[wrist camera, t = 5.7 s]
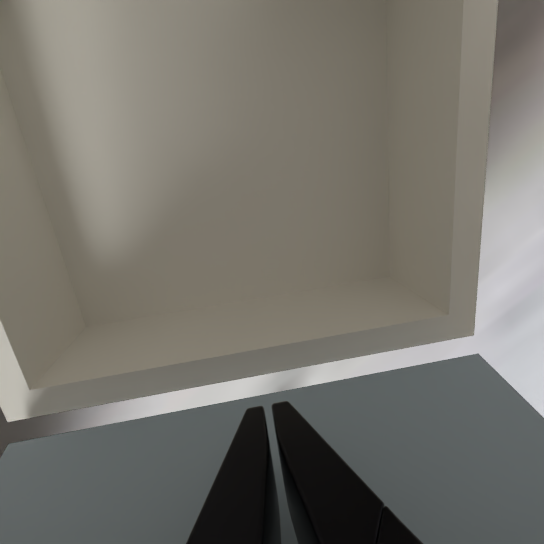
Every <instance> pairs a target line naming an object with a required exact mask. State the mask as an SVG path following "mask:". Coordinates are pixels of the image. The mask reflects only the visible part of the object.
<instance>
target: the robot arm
mask: <svg viewBox="0 0 544 544" xmlns="http://www.w3.org/2000/svg"><path fill="white" fill-rule="evenodd" d="M271 407H272V414H273V421H274V427H275V434H276V440H277V446H278V452H279V458H280V464H281V469H282V475H283V481H284V487H285V493H286V499H287V504H288V508H289V512H290V516H291V520H292V524H293V527H294V531H295V534H296V538H297V541H298V544H423V543H422V542H421V541H420V540H419V539H418V538H417V537H416V535H415V534H414V533H413V532H412V531H411V530H410V529H409V528H408V527H407V526H406V525H405V524H404V523H403V522H402V521H401V520H400V519H399V518H398V517H397V516H396V515H395V514H394V513H393V512H392V511H391V510H390V508H389V507H388V506H384V502H383V501H382V500H381V499H380V498H379V497H378V496H377V495H376V494H375V493H374V492H373V491H372V490H371V489H370V487H369V486H368V485H367V484H366V483H365V482H364V481H363V480H362V479H361V478H360V477H359V476H358V475H357V474H356V473H355V472H354V470H353V469H352V468H351V467H350V466H349V465H348V464H347V463H346V462H345V461H344V460H343V459H342V458H341V457H340V456H339V455H338V453H337V452H336V451H335V450H334V449H333V448H332V447H331V446H330V445H329V444H328V443H327V442H326V441H325V440H324V439H323V437H322V436H321V435H320V434H319V433H318V432H317V431H316V430H315V429H314V428H313V427H312V426H311V425H310V424H309V423H308V422H307V420H306V419H305V418H304V417H303V416H302V415H301V414H300V413H299V412H298V411H297V410H296V409H295V408H294V407H293V406H292V405H291V403H289V402H288V401H282V402H277V403H273V404H272V406H271ZM186 544H281V527H280V510H279V502H278V494H277V488H276V481H275V474H274V468H273V461H272V454H271V448H270V441H269V435H268V429H267V422H266V416H265V410H264V407H263V406H256V407H250V408H247V409H246V411H245V413H244V415H243V418H242V420H241V422H240V424H239V426H238V429H237V431H236V433H235V435H234V438H233V440H232V442H231V444H230V446H229V449H228V451H227V453H226V455H225V458H224V460H223V462H222V464H221V466H220V469H219V471H218V473H217V475H216V478H215V480H214V482H213V484H212V486H211V489H210V491H209V493H208V495H207V498H206V500H205V502H204V504H203V507H202V509H201V511H200V513H199V515H198V518H197V520H196V522H195V524H194V527H193V529H192V531H191V533H190V535H189V538H188V540H187V542H186Z"/></svg>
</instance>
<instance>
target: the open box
mask: <svg viewBox="0 0 544 544" xmlns="http://www.w3.org/2000/svg"><path fill="white" fill-rule="evenodd" d="M497 11H498V0H0V407H1V409H2V411H3V413H4V416H5V418H6V420H7V422H11V421H17V420H22V419H27V418H33V417H38V416H44V415H49V414H54V413H60V412H65V411H70V410H76V409H81V408H86V407H92V406H97V405H103V404H108V403H113V402H119V401H124V400H129V399H135V398H140V397H145V396H151V395H156V394H162V393H167V392H172V391H178V390H183V389H188V388H194V387H199V386H204V385H210V384H215V383H221V382H226V381H231V380H237V379H242V378H247V377H253V376H258V375H263V374H269V373H274V372H280V371H285V370H290V369H296V368H301V367H306V366H312V365H317V364H322V363H328V362H333V361H339V360H344V359H349V358H355V357H360V356H365V355H371V354H376V353H381V352H387V351H392V350H398V349H403V348H408V347H414V346H419V345H424V344H430V343H435V342H440V341H446V340H451V339H457V338H462V337H467V336H473V335H474V327H475V313H476V300H477V286H478V272H479V259H480V245H481V231H482V217H483V204H484V190H485V176H486V162H487V149H488V135H489V121H490V108H491V94H492V80H493V66H494V53H495V39H496V25H497Z"/></svg>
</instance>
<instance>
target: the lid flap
mask: <svg viewBox="0 0 544 544" xmlns="http://www.w3.org/2000/svg"><path fill="white" fill-rule="evenodd" d="M282 401H288V402H289V403H291V405H292V406H293V407H294V408H295V409H296V410H297V411H298V412H299V413H300V414H301V415H302V416H303V417H304V418H305V419H306V420H307V422H308V423H309V424H310V425H311V426H312V427H313V428H314V429H315V430H316V431H317V432H318V433H319V434H320V435H321V436H322V437H323V439H324V440H325V441H326V442H327V443H328V444H329V445H330V446H331V447H332V448H333V449H334V450H335V451H336V452H337V453H338V455H339V456H340V457H341V458H342V459H343V460H344V461H345V462H346V463H347V464H348V465H349V466H350V467H351V468H352V469H353V470H354V472H355V473H356V474H357V475H358V476H359V477H360V478H361V479H362V480H363V481H364V482H365V483H366V484H367V485H368V486H369V487H370V489H371V490H372V491H373V492H374V493H375V494H376V495H377V496H378V497H379V498H380V499H381V500H382V501H383V502H384V506H388V507H389V508H390V510H391V511H392V512H393V513H394V514H395V515H396V516H397V517H398V518H399V519H400V520H401V521H402V522H403V523H404V524H405V525H406V526H407V527H408V528H409V529H410V530H411V531H412V532H413V533H414V534H415V535H416V537H417V538H418V539H419V540H420V541H421V542H422V543H423V544H544V418H543V417H542V416H541V415H540V414H539V413H538V412H537V411H536V410H535V409H534V408H533V407H532V406H531V405H530V404H529V403H528V402H527V401H526V400H525V399H524V398H523V397H522V396H521V395H520V394H519V393H518V392H517V391H516V390H515V389H514V388H513V387H512V386H511V385H510V384H509V383H508V382H507V381H506V380H505V379H504V378H503V377H502V376H501V375H500V374H499V373H498V372H496V371H495V370H494V369H493V368H492V367H491V366H490V365H489V364H488V363H487V362H486V361H485V360H484V359H483V358H482V357H481V356H480V355H479V354H474V355H468V356H463V357H458V358H453V359H448V360H442V361H437V362H432V363H427V364H422V365H416V366H411V367H406V368H401V369H396V370H390V371H385V372H380V373H375V374H369V375H364V376H359V377H354V378H349V379H343V380H338V381H333V382H328V383H323V384H317V385H312V386H307V387H302V388H296V389H291V390H286V391H281V392H276V393H270V394H265V395H260V396H255V397H250V398H244V399H239V400H234V401H229V402H224V403H218V404H213V405H208V406H203V407H197V408H192V409H187V410H182V411H177V412H171V413H166V414H161V415H156V416H151V417H145V418H140V419H135V420H130V421H125V422H119V423H114V424H109V425H104V426H98V427H93V428H88V429H83V430H78V431H72V432H67V433H62V434H57V435H52V436H46V437H41V438H36V439H31V440H25V441H20V442H15V443H10V444H8V446H7V447H6V449H5V451H4V452H3V454H2V456H1V458H0V544H186V542H187V540H188V538H189V535H190V533H191V531H192V529H193V527H194V524H195V522H196V520H197V518H198V515H199V513H200V511H201V509H202V507H203V504H204V502H205V500H206V498H207V495H208V493H209V491H210V489H211V486H212V484H213V482H214V480H215V478H216V475H217V473H218V471H219V469H220V466H221V464H222V462H223V460H224V458H225V455H226V453H227V451H228V449H229V446H230V444H231V442H232V440H233V438H234V435H235V433H236V431H237V429H238V426H239V424H240V422H241V420H242V418H243V415H244V413H245V411H246V409H247V408H250V407H256V406H263V407H264V410H265V416H266V422H267V429H268V435H269V441H270V448H271V454H272V461H273V468H274V474H275V481H276V488H277V494H278V502H279V510H280V527H281V544H298V541H297V538H296V534H295V531H294V527H293V524H292V520H291V516H290V512H289V508H288V504H287V499H286V493H285V487H284V481H283V475H282V469H281V464H280V458H279V452H278V446H277V440H276V434H275V427H274V421H273V414H272V407H271V406H272V404H273V403H277V402H282Z"/></svg>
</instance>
